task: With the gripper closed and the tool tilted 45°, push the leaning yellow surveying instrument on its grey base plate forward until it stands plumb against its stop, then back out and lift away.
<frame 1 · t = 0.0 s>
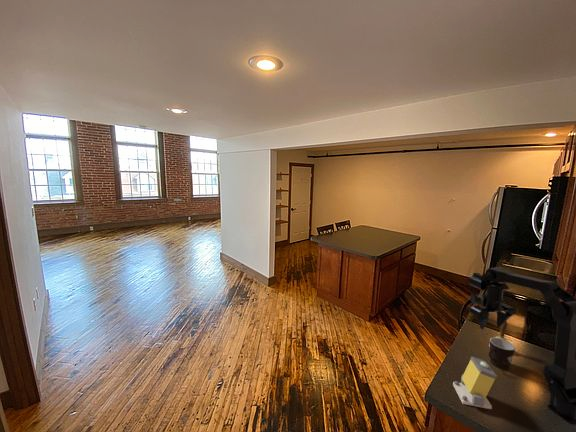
hand: (490, 327, 113), 15 cm above the counter, tool pointing down, fingers open, 9 cm apart
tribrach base: (471, 396, 94), on the counter
instrument: (477, 378, 92), point 8 cm above the counter, hinge at -15.0°
coffee mug: (495, 364, 111), on the counter
hand bell: (499, 349, 121), on the counter
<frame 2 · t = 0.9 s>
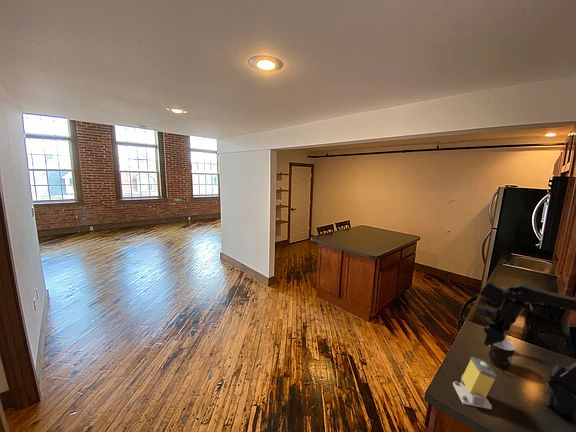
hand: (488, 340, 102), 16 cm above the counter, tool tilted 20°, fingers open, 9 cm apart
nothing on the counter moved.
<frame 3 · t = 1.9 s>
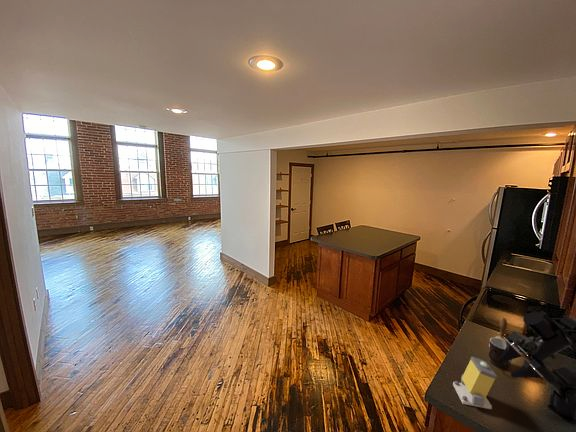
hand: (505, 368, 90), 14 cm above the counter, tool tilted 45°, fingers open, 7 cm apart
nothing on the counter moved.
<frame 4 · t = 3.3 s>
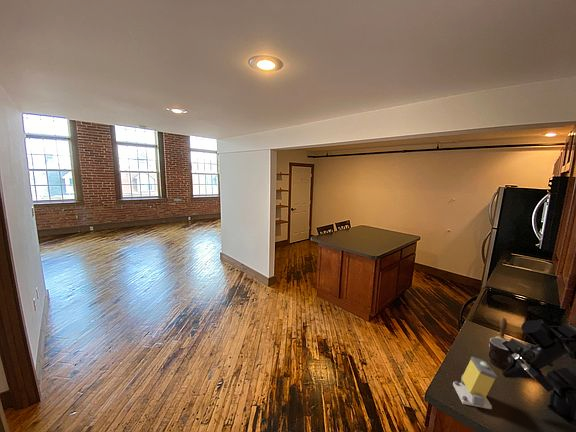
hand: (503, 375, 90), 10 cm above the counter, tool tilted 45°, fingers closed
nothing on the counter moved.
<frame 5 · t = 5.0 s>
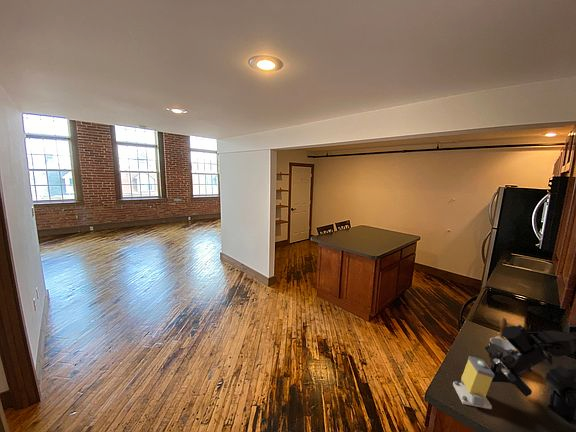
hand: (484, 380, 92), 8 cm above the counter, tool tilted 45°, fingers closed, pressing on instrument
instrument: (476, 377, 93), point 8 cm above the counter, hinge at -10.5°, touching gripper
everything else where it was.
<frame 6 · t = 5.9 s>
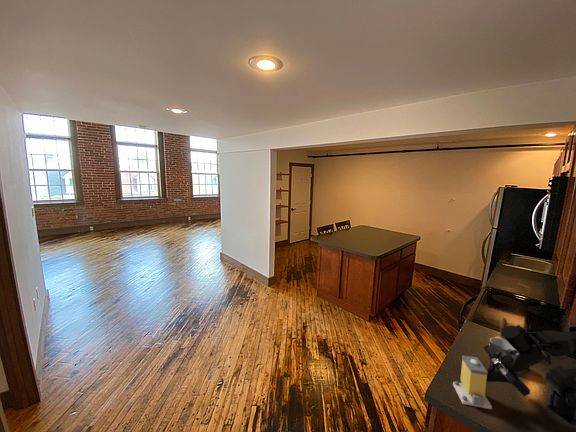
hand: (483, 379, 92), 8 cm above the counter, tool tilted 45°, fingers closed
instrument: (473, 376, 93), point 8 cm above the counter, hinge at 0.9°
everything else where it was.
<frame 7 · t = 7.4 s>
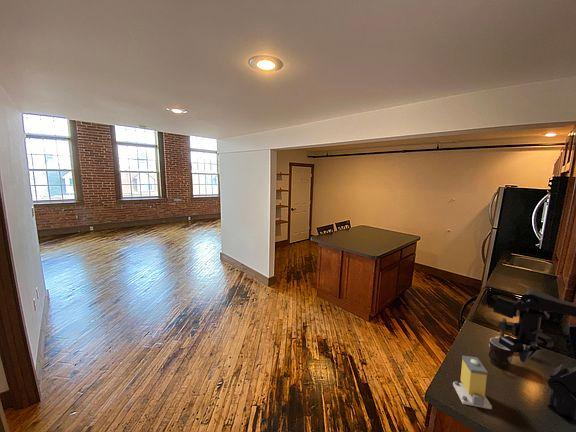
hand: (522, 361, 95), 12 cm above the counter, tool pointing down, fingers closed
nothing on the counter moved.
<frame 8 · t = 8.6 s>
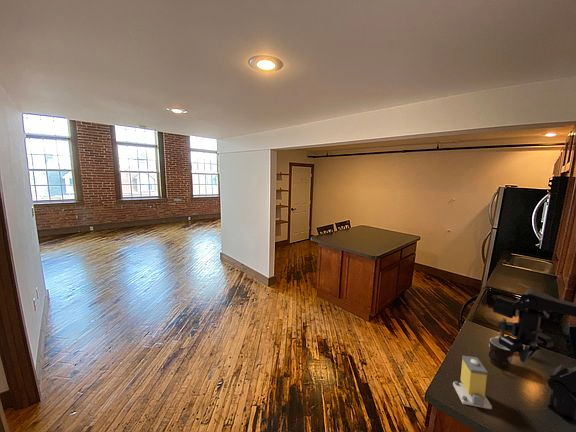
hand: (522, 361, 95), 12 cm above the counter, tool pointing down, fingers closed
nothing on the counter moved.
at the end: instrument at +1° (first picture: -15°) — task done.
